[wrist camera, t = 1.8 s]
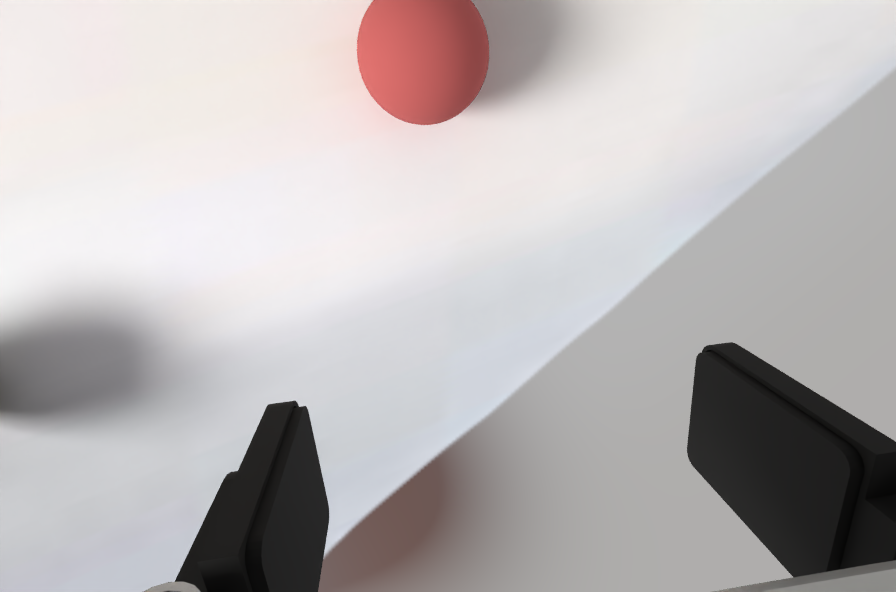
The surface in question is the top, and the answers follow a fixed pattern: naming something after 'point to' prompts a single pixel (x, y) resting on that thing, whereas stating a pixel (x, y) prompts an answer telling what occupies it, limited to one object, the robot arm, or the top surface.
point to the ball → (423, 57)
